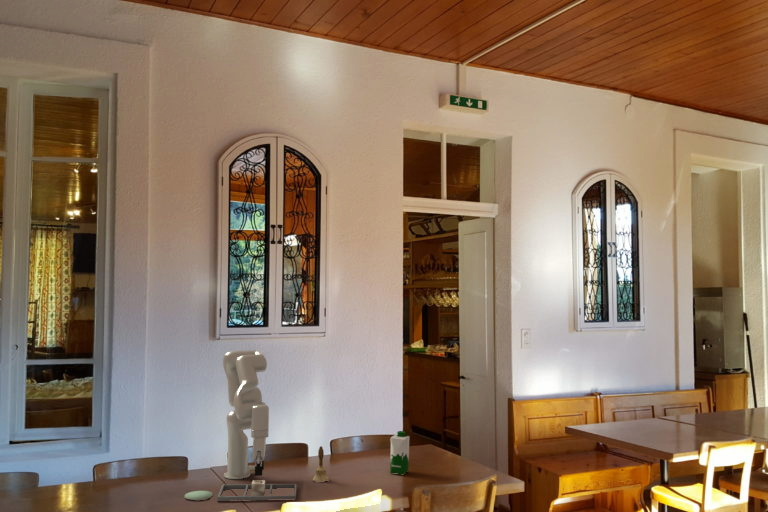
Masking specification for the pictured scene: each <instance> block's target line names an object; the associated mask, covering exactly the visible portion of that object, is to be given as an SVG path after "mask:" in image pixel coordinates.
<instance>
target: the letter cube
mask: <svg viewBox="0 0 768 512" xmlns="http://www.w3.org/2000/svg"><path fill="white" fill-rule="evenodd" d="M251 484H252V491H251V496H264V494H265V484H266V480H265V479H262V480H261V479H260V480H259V479H258V480H257V479H255V480H254V479H253V480H252V482H251Z"/></svg>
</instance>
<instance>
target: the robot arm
mask: <svg viewBox="0 0 768 512" xmlns="http://www.w3.org/2000/svg"><path fill="white" fill-rule="evenodd" d="M267 365H268V363H267V359H266V357H265V355H264V354H263V353H261V352H260V351H257V350H232V351H228V352H225V353H224V354H223V358H222V367H223V370H224V372H225V375H226V376H225V377H226V378H227V392H228V393H227V394H228V403H229V405H230V406H231V407H232V408H234V410H231V411H229V412H228V414H227V416H226V425H227V427H226V428H227V465H226V466H227V468H226V472H224V473H223V477H224V478H226V479H228V480H244V479H247V478H249V477H250V476H251V472H250V471H252V470H253V471H254V476H255V477H256V476H257V477H260V476H263V471H264V469H265V467H264V466H265V464H264V463H265V461H264V459H265V455H266V442H267V441H266V438H268V437H269V427H270V426H269V423H270V422H269V421H270V420H269V419H270V417H269V415H270V408H269V405H268V404H266V403H265V402H263V396H262V392H261V389H260V388H259V387H258V385H259V378H258V375H257V373H264V372H265V371H266V370H267ZM244 430H245V431H246V430H250V431H251V432H250V436H251V438H253V442H252V462H255V463H254V464H255V465H251V464H250V465H248V458H249V457H248V456H249V455H248V454H249V439H248V436H247V434H246V433H245V432H244ZM243 478H244V479H243Z"/></svg>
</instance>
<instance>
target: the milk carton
mask: <svg viewBox="0 0 768 512" xmlns="http://www.w3.org/2000/svg"><path fill="white" fill-rule="evenodd" d="M396 433H397V434H395V435H392V436H391V437H390V439H389V441H390V460H389V461H390V466H389V467H390V468H389V469H390V470H389V471H390V472H389V473H398V474H404V473H406V472H407V471H408V472H409V468H410V466H409V465H410V463H409V462H410V439H411V438H410V435H406V431H404V430H399V431H397V432H396ZM406 474H407V473H406Z"/></svg>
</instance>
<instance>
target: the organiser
mask: <svg viewBox="0 0 768 512" xmlns="http://www.w3.org/2000/svg"><path fill="white" fill-rule="evenodd" d="M277 488H294V495H287V496H271V494H272V489H277ZM230 489H245V492H244V495H243V496H221V495H222V493H223V491H226V490H230ZM248 489H252V483H251V484H246V483H245V484H244V483H243V484H242V483H241V484H222V485H221V487H220V489H219V491H218V495H217V500H216V502H217V501H230V500H238V501H239V500H268V499H296V500H297V483H265V489H270V492H269V496H246V495H247V491H248Z"/></svg>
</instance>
